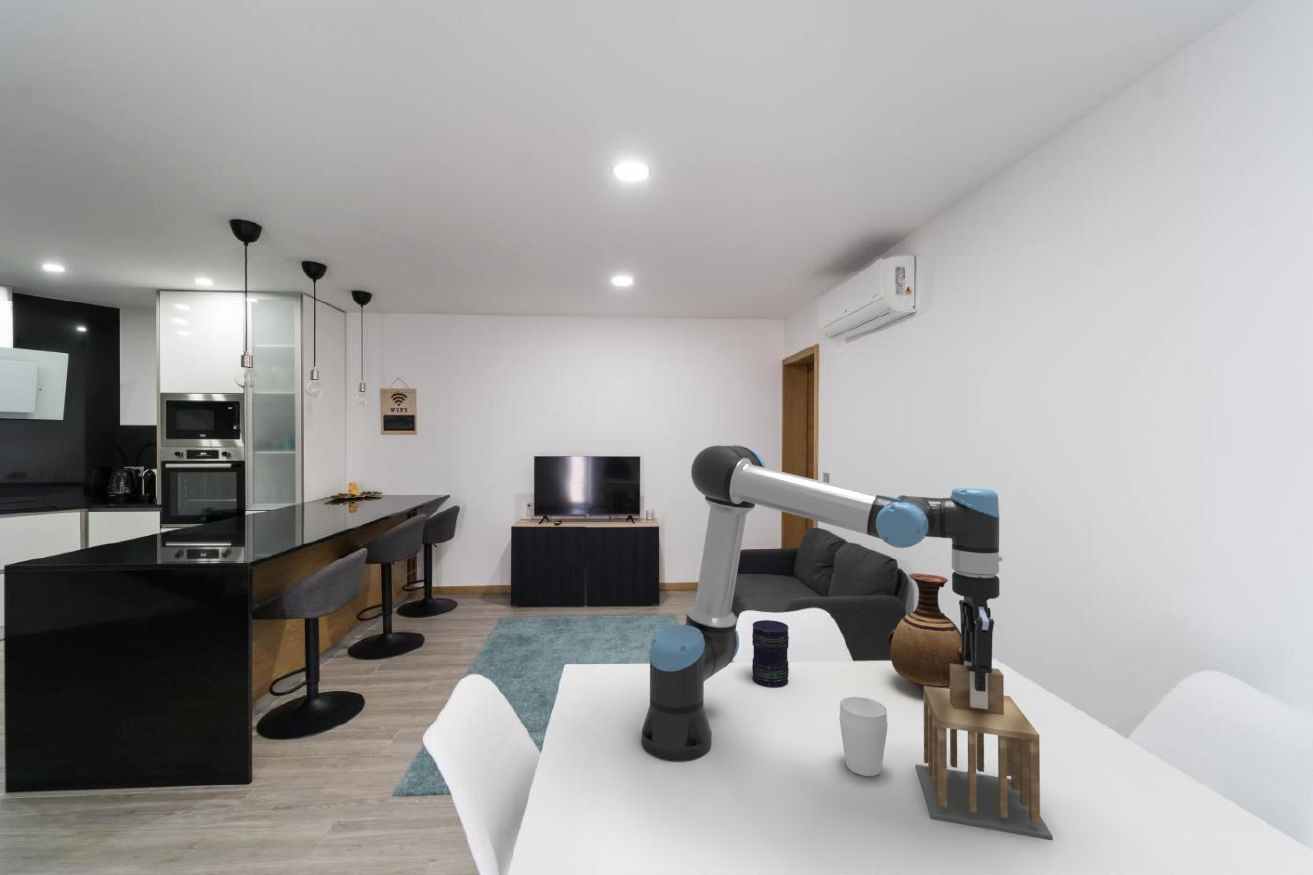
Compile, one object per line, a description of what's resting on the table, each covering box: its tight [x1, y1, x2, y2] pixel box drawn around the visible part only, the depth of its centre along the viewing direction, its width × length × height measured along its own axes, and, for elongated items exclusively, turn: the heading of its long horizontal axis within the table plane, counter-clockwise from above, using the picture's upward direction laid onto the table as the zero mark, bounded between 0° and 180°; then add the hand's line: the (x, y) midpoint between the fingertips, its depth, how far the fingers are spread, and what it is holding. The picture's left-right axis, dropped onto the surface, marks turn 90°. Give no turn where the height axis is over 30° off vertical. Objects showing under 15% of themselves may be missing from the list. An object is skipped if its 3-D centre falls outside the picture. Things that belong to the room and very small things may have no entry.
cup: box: [838, 696, 889, 777], centre depth 110 cm, size 9×9×12 cm
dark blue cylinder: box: [751, 619, 790, 689], centre depth 152 cm, size 10×10×15 cm
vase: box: [887, 573, 967, 691], centre depth 146 cm, size 21×18×30 cm
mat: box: [914, 763, 1053, 841], centre depth 100 cm, size 18×16×1 cm
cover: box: [923, 664, 1041, 824], centre depth 100 cm, size 15×15×22 cm
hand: (975, 702), depth 100 cm, fingers closed on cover, 3 cm apart
